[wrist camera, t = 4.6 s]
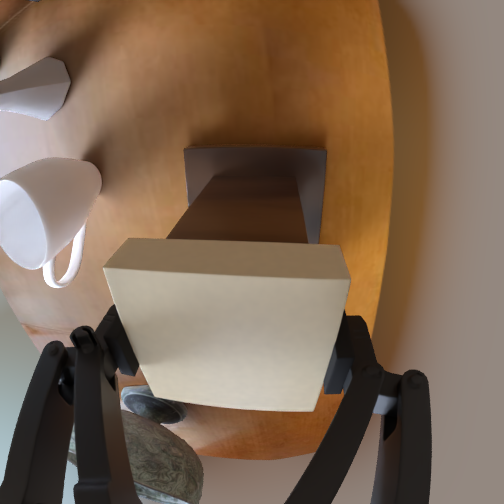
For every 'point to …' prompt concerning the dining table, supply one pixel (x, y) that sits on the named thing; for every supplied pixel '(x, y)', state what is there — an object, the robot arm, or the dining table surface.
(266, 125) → the dining table surface
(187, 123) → the dining table surface
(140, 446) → the decorative bowl
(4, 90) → the flask
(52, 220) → the mug
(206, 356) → the beige flat square block
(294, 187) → the stand
